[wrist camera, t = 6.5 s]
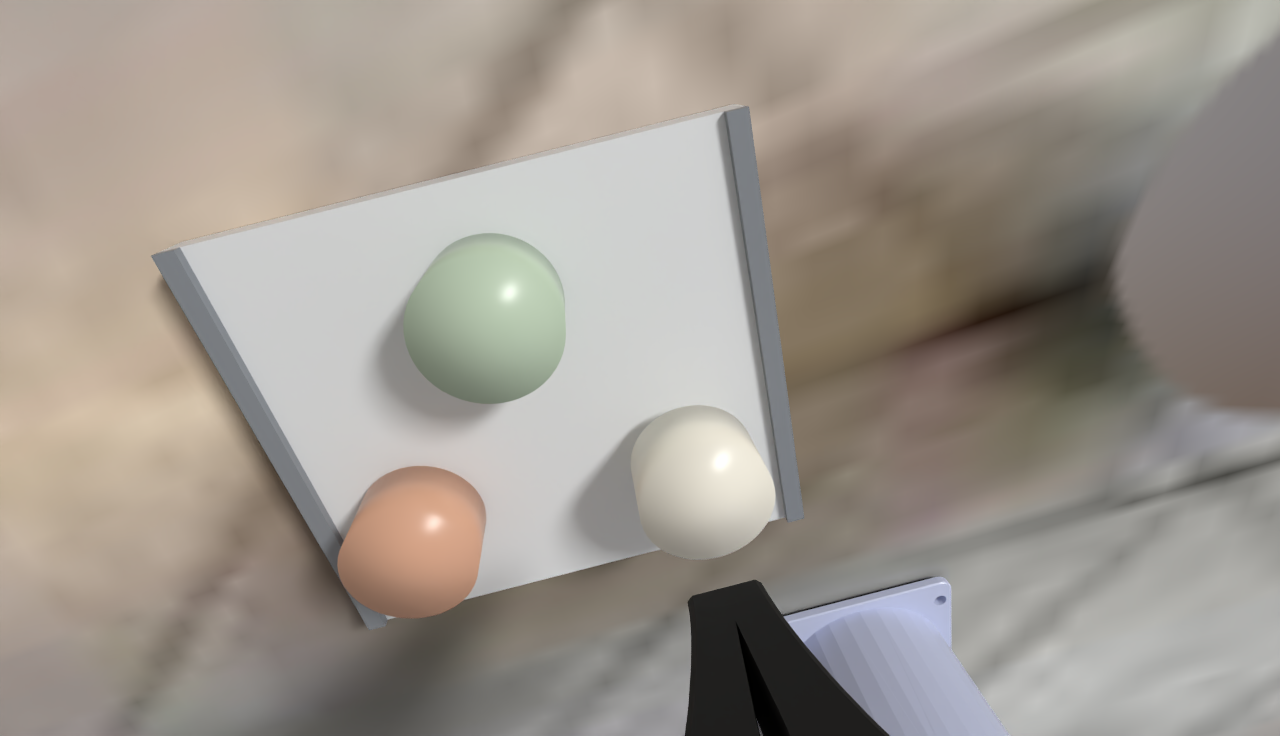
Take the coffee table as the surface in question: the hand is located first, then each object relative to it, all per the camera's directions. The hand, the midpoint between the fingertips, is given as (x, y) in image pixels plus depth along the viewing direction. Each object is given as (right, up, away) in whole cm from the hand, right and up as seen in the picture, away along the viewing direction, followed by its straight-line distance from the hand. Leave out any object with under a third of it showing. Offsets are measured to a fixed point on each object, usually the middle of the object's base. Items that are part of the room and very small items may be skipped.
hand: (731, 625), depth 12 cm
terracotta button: (-9, 0, +9) cm, 13 cm away
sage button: (-6, +7, +6) cm, 11 cm away
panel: (-5, +4, +9) cm, 11 cm away
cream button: (0, +2, +8) cm, 9 cm away
